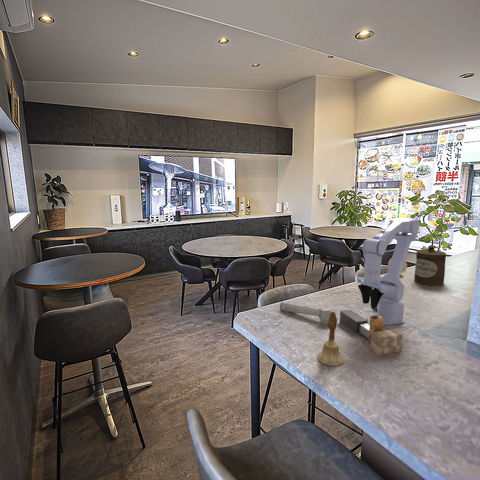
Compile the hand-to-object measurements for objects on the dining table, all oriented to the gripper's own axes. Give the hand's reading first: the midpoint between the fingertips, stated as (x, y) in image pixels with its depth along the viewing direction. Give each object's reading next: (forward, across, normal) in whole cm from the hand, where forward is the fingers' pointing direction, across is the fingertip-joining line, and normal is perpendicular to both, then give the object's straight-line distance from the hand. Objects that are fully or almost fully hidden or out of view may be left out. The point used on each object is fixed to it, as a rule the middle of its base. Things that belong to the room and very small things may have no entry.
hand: (369, 305), depth 114 cm
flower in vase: (+10, -16, +23) cm, 30 cm away
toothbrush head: (+11, -19, -17) cm, 28 cm away
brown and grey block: (+10, +6, -3) cm, 12 cm away
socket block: (+11, +14, -3) cm, 18 cm away
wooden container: (+9, -45, +76) cm, 89 cm away
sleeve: (+10, -5, -3) cm, 12 cm away
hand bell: (+11, +14, -24) cm, 30 cm away
